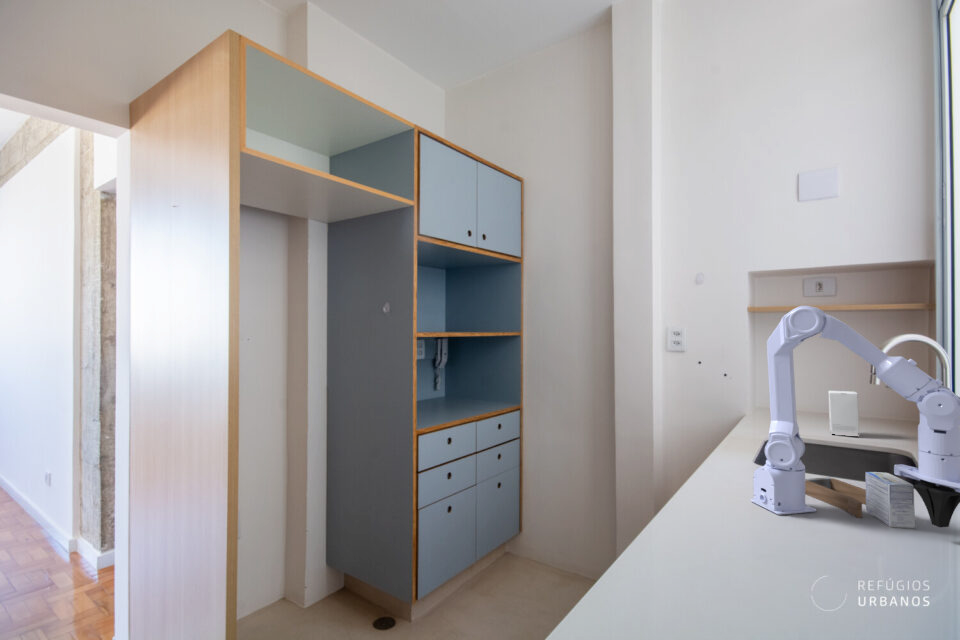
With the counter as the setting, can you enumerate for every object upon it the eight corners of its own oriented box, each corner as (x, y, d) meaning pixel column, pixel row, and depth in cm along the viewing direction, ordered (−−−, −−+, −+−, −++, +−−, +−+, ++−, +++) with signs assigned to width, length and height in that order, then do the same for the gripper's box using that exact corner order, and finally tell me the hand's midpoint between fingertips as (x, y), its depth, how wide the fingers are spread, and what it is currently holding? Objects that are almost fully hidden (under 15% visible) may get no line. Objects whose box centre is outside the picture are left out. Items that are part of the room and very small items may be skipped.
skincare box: (857, 434, 169) (856, 391, 169) (860, 438, 163) (859, 393, 163) (828, 431, 173) (828, 389, 173) (830, 435, 168) (829, 391, 168)
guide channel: (858, 518, 96) (858, 503, 96) (795, 492, 111) (795, 479, 111) (901, 514, 98) (901, 499, 98) (834, 489, 113) (834, 476, 113)
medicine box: (915, 529, 91) (915, 484, 91) (889, 527, 92) (888, 483, 92) (889, 513, 99) (888, 472, 99) (865, 511, 100) (864, 471, 100)
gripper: (1006, 462, 80) (1007, 541, 80) (913, 441, 94) (914, 508, 94) (973, 464, 79) (975, 545, 79) (885, 443, 93) (886, 511, 93)
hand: (940, 525), depth 86 cm, fingers closed
